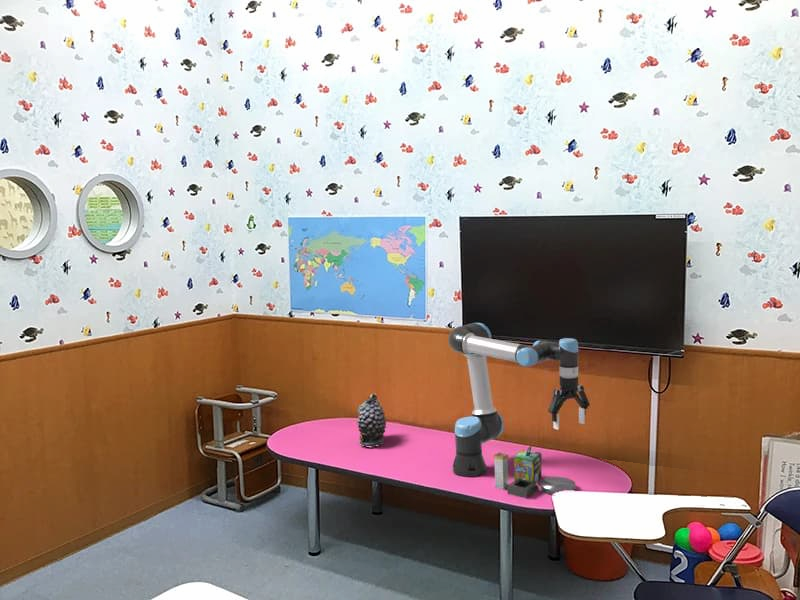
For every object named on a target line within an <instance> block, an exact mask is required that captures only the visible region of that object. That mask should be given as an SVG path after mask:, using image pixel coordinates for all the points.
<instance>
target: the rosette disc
mask: <svg viewBox="0 0 800 600" xmlns="http://www.w3.org/2000/svg"><path fill="white" fill-rule="evenodd" d="M539 485H540V486H539V487H540V491H541V492H543V493H544V494H547V495H549V496H553V495H552V494H553V493H555V492H559V491H563V490H575V491H576V482H575V481H574V480H573V479H571V478H568V477H563V476H550V477H545V478H543V479H540V484H539Z"/></svg>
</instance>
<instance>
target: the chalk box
mask: <svg viewBox="0 0 800 600" xmlns="http://www.w3.org/2000/svg"><path fill="white" fill-rule="evenodd" d="M513 459H514V460H513V461H514V481H515V480H517V479H523V480H527V481H531V482H536V483H539V481H541V480H542V477H543V476H542V452H539V451H532V445H530V446H529V447H527V449H521V450H520V451H519V452H518V453H516V454H515V455H514V457H513Z"/></svg>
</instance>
